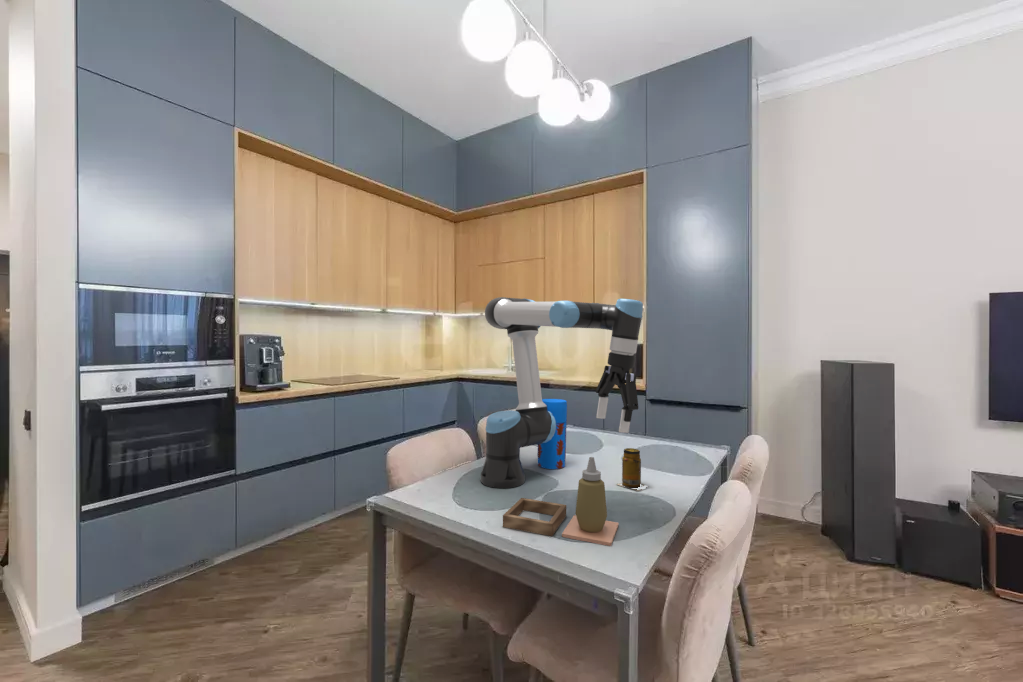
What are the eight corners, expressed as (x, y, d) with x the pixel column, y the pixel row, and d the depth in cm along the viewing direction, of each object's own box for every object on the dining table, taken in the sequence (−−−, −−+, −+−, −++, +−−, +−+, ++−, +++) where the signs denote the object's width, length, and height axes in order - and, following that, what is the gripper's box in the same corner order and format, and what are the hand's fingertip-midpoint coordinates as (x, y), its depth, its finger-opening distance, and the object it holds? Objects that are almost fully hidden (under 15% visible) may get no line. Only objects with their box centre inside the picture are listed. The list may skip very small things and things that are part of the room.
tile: (561, 536, 106) (561, 533, 106) (573, 518, 117) (573, 515, 117) (611, 546, 101) (611, 542, 101) (618, 525, 112) (618, 522, 112)
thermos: (532, 462, 168) (534, 399, 168) (556, 460, 172) (558, 398, 172) (545, 470, 158) (547, 402, 158) (570, 467, 162) (572, 402, 162)
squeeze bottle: (587, 518, 115) (587, 451, 115) (613, 528, 109) (614, 457, 109) (568, 527, 109) (569, 457, 109) (595, 538, 103) (595, 464, 103)
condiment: (629, 480, 148) (629, 446, 148) (650, 487, 142) (651, 451, 142) (616, 485, 144) (616, 449, 144) (637, 492, 137) (638, 454, 137)
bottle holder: (502, 526, 111) (502, 515, 111) (521, 508, 123) (521, 497, 123) (552, 536, 106) (552, 524, 106) (566, 515, 118) (566, 504, 118)
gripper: (659, 361, 112) (647, 439, 113) (612, 348, 136) (602, 413, 137) (634, 358, 110) (622, 438, 111) (591, 346, 134) (581, 412, 135)
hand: (611, 425), depth 124 cm, fingers open, 13 cm apart
